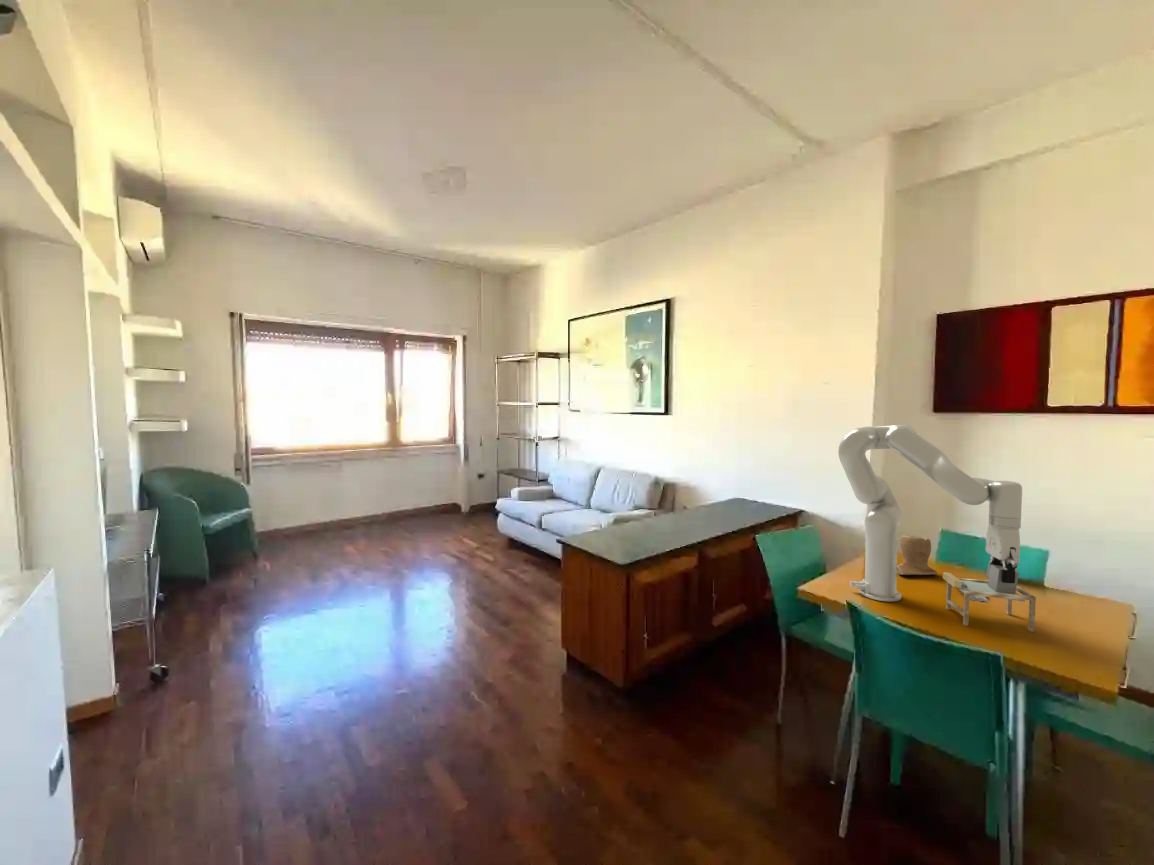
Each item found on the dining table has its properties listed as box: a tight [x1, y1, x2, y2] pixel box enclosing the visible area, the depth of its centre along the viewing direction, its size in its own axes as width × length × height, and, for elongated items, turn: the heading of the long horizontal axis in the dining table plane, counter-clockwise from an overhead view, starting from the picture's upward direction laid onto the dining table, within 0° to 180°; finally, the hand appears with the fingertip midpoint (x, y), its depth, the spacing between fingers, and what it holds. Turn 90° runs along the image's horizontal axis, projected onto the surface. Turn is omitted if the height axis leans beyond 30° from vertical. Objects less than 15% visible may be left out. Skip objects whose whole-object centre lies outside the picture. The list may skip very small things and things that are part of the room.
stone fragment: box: [956, 587, 991, 603], centre depth 182 cm, size 25×3×10 cm
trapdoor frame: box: [945, 577, 1037, 633], centre depth 156 cm, size 18×13×10 cm
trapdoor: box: [942, 571, 1026, 602], centre depth 156 cm, size 18×10×3 cm, turn 74°
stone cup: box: [897, 535, 939, 576], centre depth 198 cm, size 15×12×15 cm
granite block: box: [988, 564, 1020, 594], centre depth 155 cm, size 5×5×7 cm
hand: (1002, 578), depth 155 cm, fingers open, 5 cm apart
